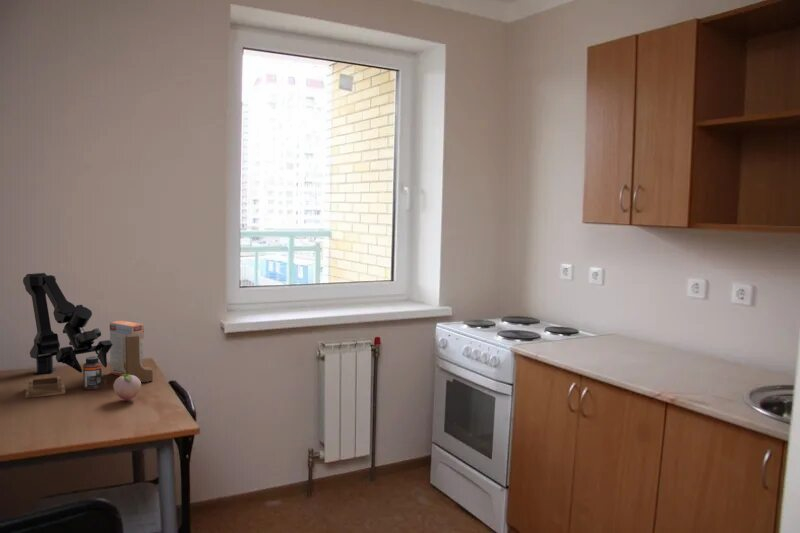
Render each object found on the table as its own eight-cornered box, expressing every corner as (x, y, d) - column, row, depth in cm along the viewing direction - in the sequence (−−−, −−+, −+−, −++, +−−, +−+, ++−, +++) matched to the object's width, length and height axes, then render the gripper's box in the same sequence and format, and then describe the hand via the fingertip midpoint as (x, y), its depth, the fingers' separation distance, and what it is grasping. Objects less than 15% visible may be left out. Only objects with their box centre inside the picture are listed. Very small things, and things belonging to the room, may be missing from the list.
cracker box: (145, 376, 240) (144, 323, 238) (131, 379, 235) (130, 326, 233) (123, 370, 247) (122, 319, 246) (109, 373, 242) (108, 321, 240)
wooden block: (151, 378, 237) (151, 332, 235) (152, 381, 233) (152, 335, 232) (126, 381, 233) (125, 334, 231) (127, 384, 229) (126, 336, 227)
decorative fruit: (146, 401, 210) (145, 372, 209) (121, 406, 204) (121, 377, 203) (134, 395, 216) (133, 367, 215) (110, 400, 210) (109, 371, 209)
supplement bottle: (87, 385, 226) (87, 355, 225) (104, 385, 227) (103, 355, 226) (80, 390, 220) (80, 359, 219) (97, 390, 221) (97, 359, 220)
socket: (26, 389, 220) (25, 379, 220) (64, 384, 226) (63, 375, 226) (25, 398, 210) (25, 388, 209) (65, 393, 216) (65, 383, 215)
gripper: (58, 325, 216) (76, 361, 211) (109, 318, 231) (126, 351, 226) (48, 344, 221) (64, 379, 216) (98, 336, 237) (114, 369, 231)
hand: (93, 369), depth 222 cm, fingers open, 9 cm apart
